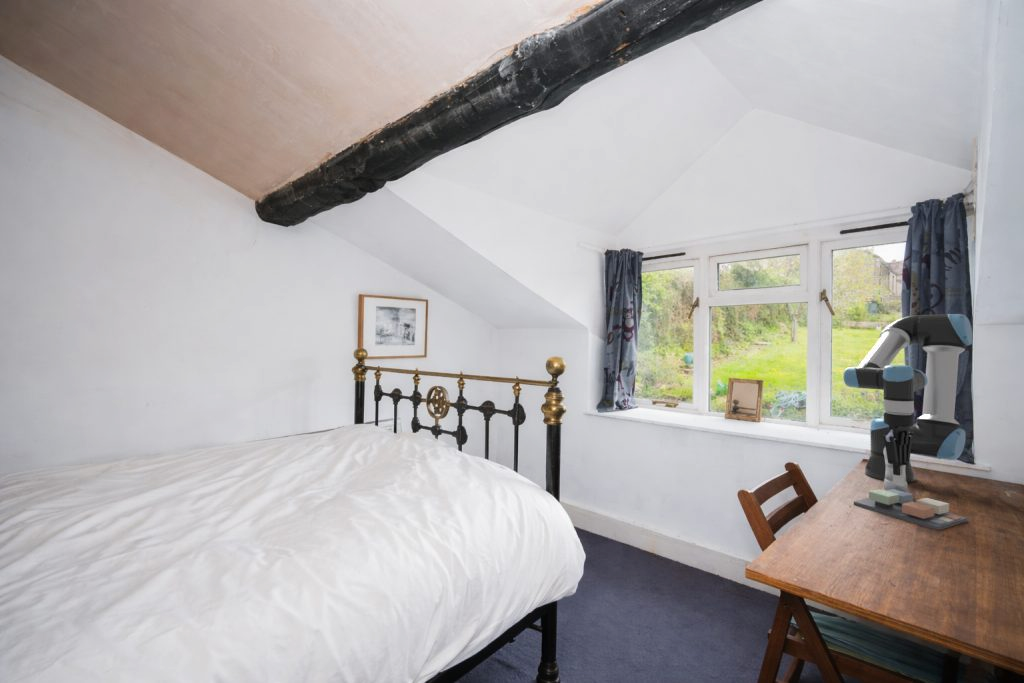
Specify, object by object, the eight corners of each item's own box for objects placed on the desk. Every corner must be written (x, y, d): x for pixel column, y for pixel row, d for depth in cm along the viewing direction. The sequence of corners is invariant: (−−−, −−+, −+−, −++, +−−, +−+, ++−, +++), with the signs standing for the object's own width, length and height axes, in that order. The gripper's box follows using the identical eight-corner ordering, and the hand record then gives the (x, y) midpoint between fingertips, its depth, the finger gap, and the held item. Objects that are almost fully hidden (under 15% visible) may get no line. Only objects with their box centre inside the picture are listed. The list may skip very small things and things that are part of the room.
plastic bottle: (913, 496, 156) (913, 438, 156) (893, 496, 156) (893, 438, 156) (897, 490, 162) (897, 434, 162) (878, 490, 162) (878, 434, 162)
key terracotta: (912, 509, 140) (912, 501, 140) (934, 515, 135) (934, 507, 135) (901, 512, 138) (901, 504, 138) (924, 518, 133) (924, 510, 133)
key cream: (926, 505, 143) (926, 497, 143) (948, 511, 138) (948, 503, 138) (916, 508, 141) (916, 500, 141) (939, 514, 136) (939, 506, 136)
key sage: (879, 496, 148) (879, 489, 148) (898, 502, 143) (898, 494, 143) (868, 499, 146) (868, 491, 146) (888, 504, 141) (888, 496, 141)
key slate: (893, 496, 151) (893, 488, 151) (913, 501, 146) (913, 494, 146) (883, 498, 149) (883, 491, 149) (903, 504, 144) (903, 496, 144)
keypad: (882, 497, 155) (882, 488, 155) (967, 521, 135) (967, 511, 135) (853, 504, 149) (853, 495, 149) (937, 530, 129) (937, 520, 129)
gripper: (896, 409, 153) (897, 478, 154) (873, 412, 148) (873, 484, 149) (923, 412, 147) (924, 484, 147) (900, 416, 141) (900, 491, 142)
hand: (898, 484), depth 148 cm, fingers closed
